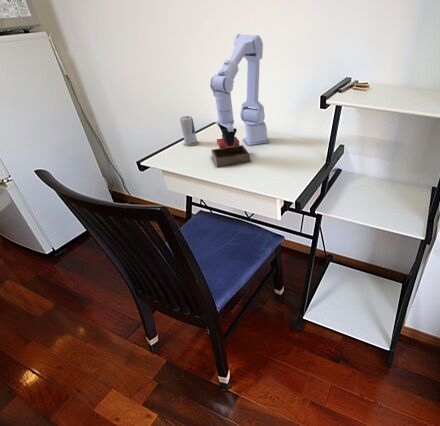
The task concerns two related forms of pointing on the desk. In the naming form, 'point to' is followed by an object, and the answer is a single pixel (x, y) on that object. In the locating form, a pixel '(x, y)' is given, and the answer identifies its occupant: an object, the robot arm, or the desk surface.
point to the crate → (230, 156)
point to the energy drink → (188, 130)
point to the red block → (223, 143)
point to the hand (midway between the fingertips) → (228, 143)
